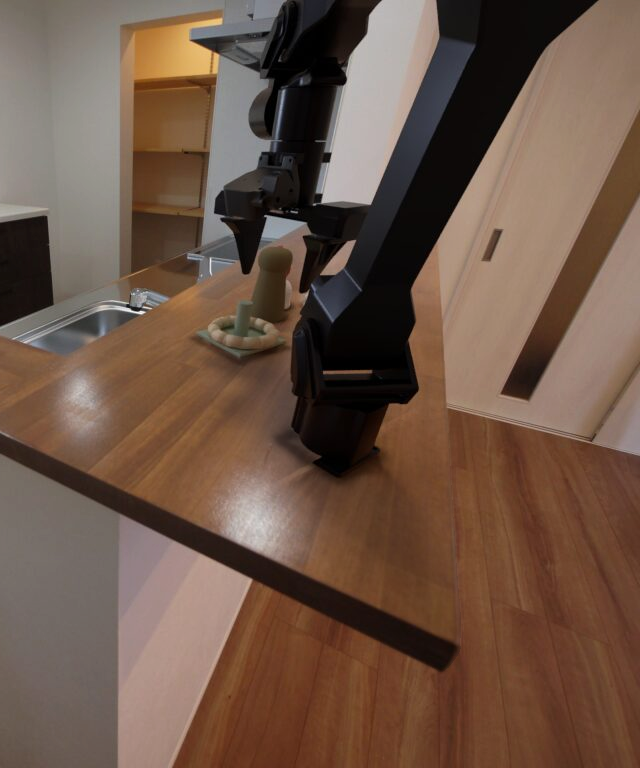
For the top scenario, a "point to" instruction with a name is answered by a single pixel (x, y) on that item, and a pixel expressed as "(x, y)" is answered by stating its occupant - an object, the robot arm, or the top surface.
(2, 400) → the top surface
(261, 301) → the olive pepper mill
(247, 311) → the green peg base
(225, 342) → the ring
